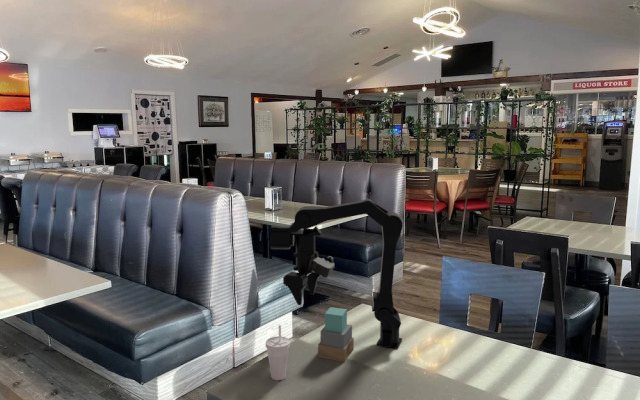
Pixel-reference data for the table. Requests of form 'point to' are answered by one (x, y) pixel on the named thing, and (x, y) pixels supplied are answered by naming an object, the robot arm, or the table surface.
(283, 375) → the smoothie
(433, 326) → the table surface
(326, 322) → the teal cube
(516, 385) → the table surface
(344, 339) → the tower top
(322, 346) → the tower base
